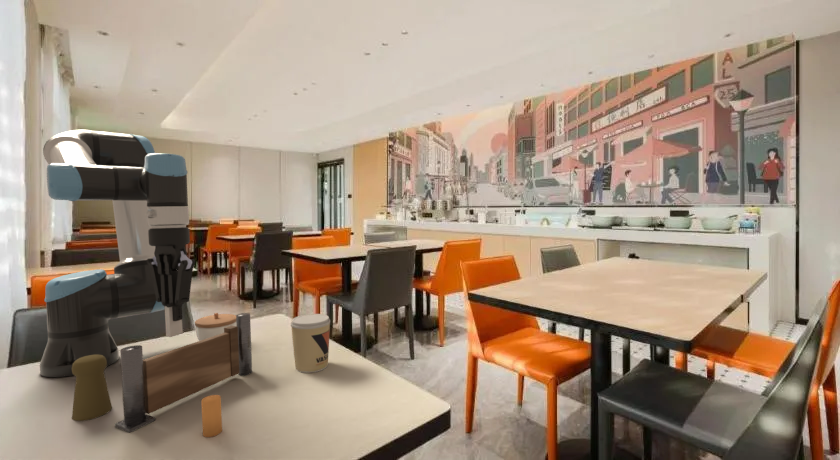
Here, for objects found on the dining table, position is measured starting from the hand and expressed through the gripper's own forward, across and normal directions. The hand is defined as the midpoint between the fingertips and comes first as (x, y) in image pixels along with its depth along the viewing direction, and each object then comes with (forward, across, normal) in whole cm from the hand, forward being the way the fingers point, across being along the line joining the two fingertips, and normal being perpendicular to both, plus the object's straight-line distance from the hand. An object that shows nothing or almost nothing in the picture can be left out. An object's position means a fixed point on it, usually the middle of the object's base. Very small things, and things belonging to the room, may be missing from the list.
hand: (174, 334), depth 87 cm
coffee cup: (+12, +20, +21) cm, 31 cm away
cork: (+12, -4, -14) cm, 19 cm away
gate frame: (+12, +7, -1) cm, 14 cm away
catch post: (+12, +23, -9) cm, 27 cm away
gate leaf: (+11, +8, -1) cm, 13 cm away
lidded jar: (+12, -16, +22) cm, 29 cm away
